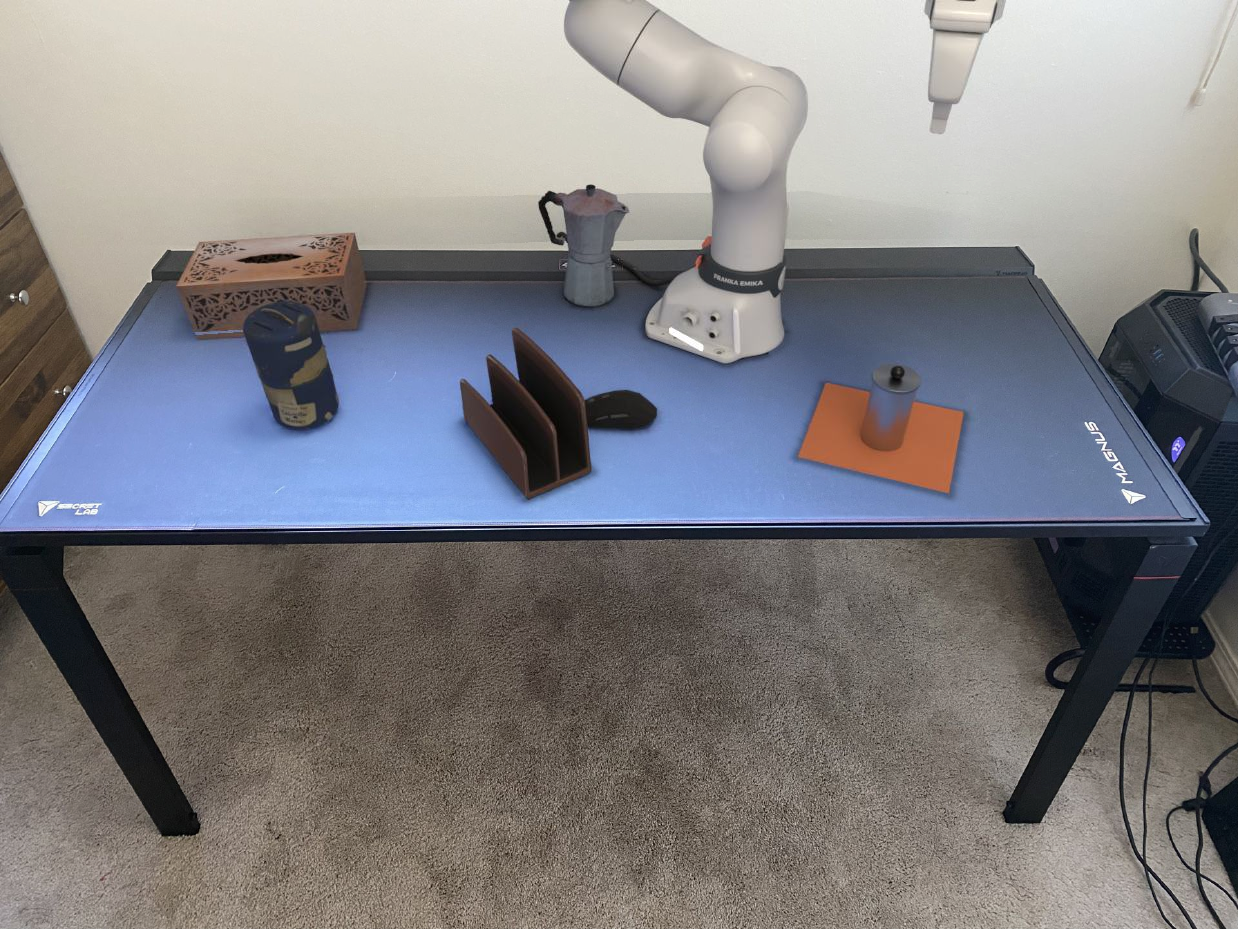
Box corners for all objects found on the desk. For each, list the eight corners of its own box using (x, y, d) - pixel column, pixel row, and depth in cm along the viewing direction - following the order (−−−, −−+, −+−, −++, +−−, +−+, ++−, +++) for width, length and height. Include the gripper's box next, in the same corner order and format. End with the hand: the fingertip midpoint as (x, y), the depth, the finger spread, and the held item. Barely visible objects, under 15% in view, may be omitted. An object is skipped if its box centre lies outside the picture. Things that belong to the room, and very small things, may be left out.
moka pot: (625, 313, 150) (623, 201, 136) (536, 304, 152) (526, 194, 139) (635, 284, 157) (635, 175, 143) (550, 276, 159) (542, 168, 146)
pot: (855, 446, 123) (870, 375, 115) (863, 419, 127) (879, 349, 119) (900, 457, 121) (919, 385, 113) (907, 429, 126) (926, 358, 118)
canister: (320, 386, 136) (289, 283, 124) (354, 414, 131) (325, 308, 119) (263, 415, 131) (224, 309, 119) (295, 444, 126) (259, 338, 114)
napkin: (797, 458, 122) (797, 456, 122) (825, 384, 134) (825, 382, 134) (948, 495, 116) (949, 492, 116) (963, 414, 129) (963, 411, 128)
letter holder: (524, 397, 133) (516, 317, 124) (592, 473, 120) (588, 390, 111) (463, 420, 129) (449, 339, 120) (527, 501, 117) (517, 418, 107)
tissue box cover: (366, 284, 158) (354, 232, 151) (357, 329, 147) (343, 275, 141) (218, 293, 156) (199, 241, 150) (197, 339, 146) (176, 286, 139)
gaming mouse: (557, 402, 132) (555, 381, 129) (657, 404, 131) (657, 382, 129) (553, 430, 127) (551, 408, 125) (656, 431, 127) (657, 409, 124)
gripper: (943, -20, 112) (920, 94, 121) (931, 15, 97) (906, 143, 106) (996, -17, 111) (969, 98, 119) (992, 20, 96) (961, 149, 104)
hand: (939, 120), depth 113 cm, fingers open, 8 cm apart
